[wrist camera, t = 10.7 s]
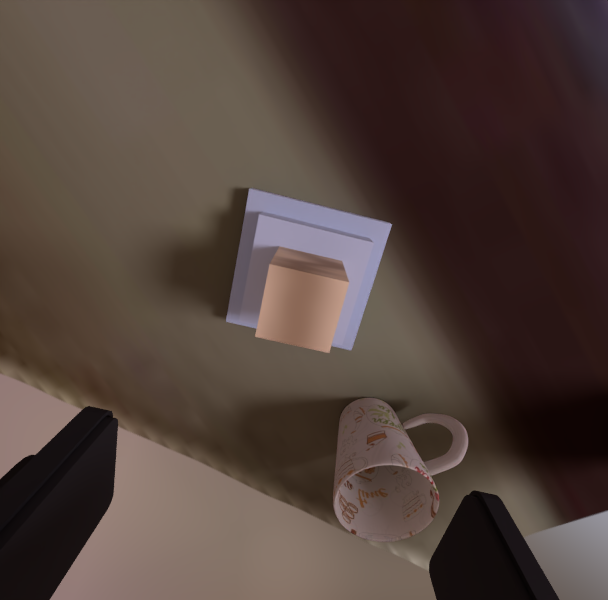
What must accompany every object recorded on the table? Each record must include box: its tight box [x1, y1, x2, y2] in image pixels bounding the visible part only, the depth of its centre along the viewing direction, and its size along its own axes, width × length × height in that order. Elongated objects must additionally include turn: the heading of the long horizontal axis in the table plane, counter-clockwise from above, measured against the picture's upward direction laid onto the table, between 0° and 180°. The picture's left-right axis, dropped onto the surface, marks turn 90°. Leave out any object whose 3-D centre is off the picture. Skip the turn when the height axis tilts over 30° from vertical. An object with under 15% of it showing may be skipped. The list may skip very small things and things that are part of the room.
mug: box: [333, 398, 468, 542], centre depth 31 cm, size 8×13×10 cm, turn 117°
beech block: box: [255, 246, 349, 353], centre depth 24 cm, size 5×5×6 cm
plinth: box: [226, 188, 392, 350], centre depth 29 cm, size 12×12×4 cm
